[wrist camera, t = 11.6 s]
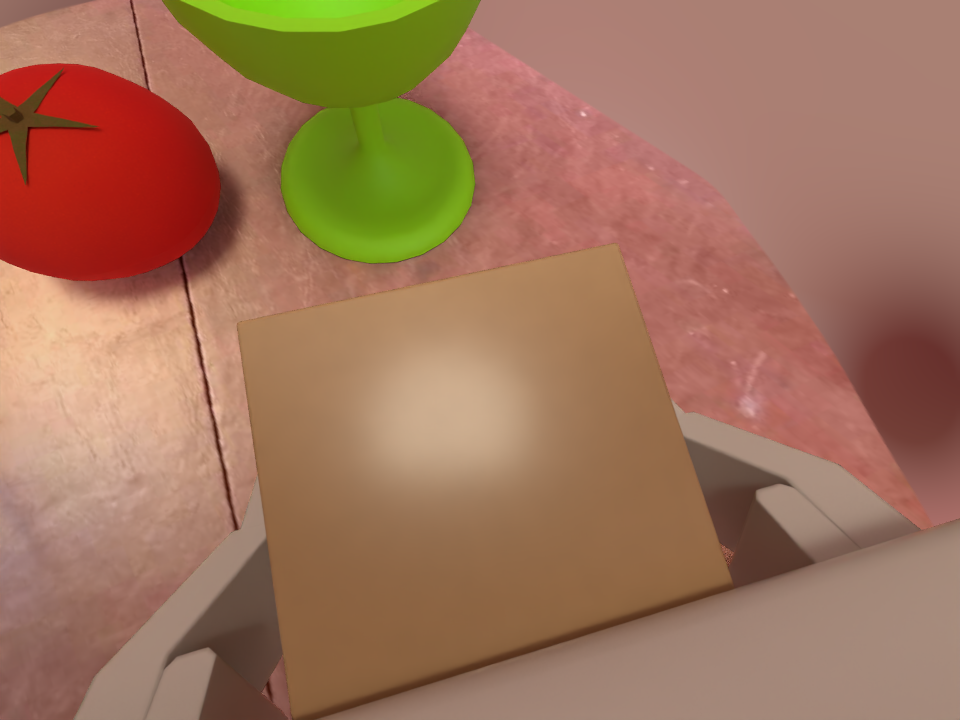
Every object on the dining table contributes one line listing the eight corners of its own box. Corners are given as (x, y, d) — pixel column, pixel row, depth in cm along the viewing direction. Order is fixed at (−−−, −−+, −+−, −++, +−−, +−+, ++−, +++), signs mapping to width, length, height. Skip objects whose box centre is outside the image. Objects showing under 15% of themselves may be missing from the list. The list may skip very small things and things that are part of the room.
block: (552, 511, 13) (756, 644, 4) (409, 551, 12) (298, 795, 4) (515, 373, 14) (618, 240, 5) (380, 405, 13) (234, 320, 5)
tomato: (207, 127, 35) (109, -12, 25) (272, 249, 32) (194, 151, 22) (25, 197, 32) (-169, 72, 22) (82, 335, 30) (-104, 267, 20)
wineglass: (509, 215, 35) (570, -38, 17) (329, 296, 32) (187, 89, 14) (421, 76, 38) (399, -258, 20) (250, 138, 35) (53, -191, 17)
